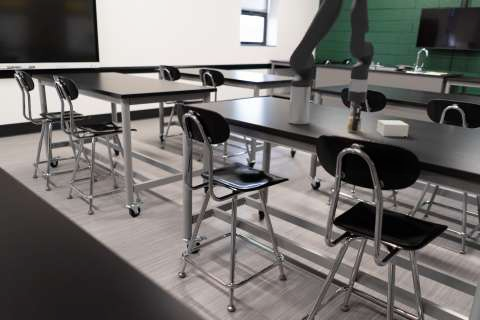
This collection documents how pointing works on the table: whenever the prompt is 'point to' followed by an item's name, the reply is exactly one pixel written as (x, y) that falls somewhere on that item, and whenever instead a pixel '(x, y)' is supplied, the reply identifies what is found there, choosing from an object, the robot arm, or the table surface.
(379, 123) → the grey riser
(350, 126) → the beech block
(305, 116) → the robot arm
